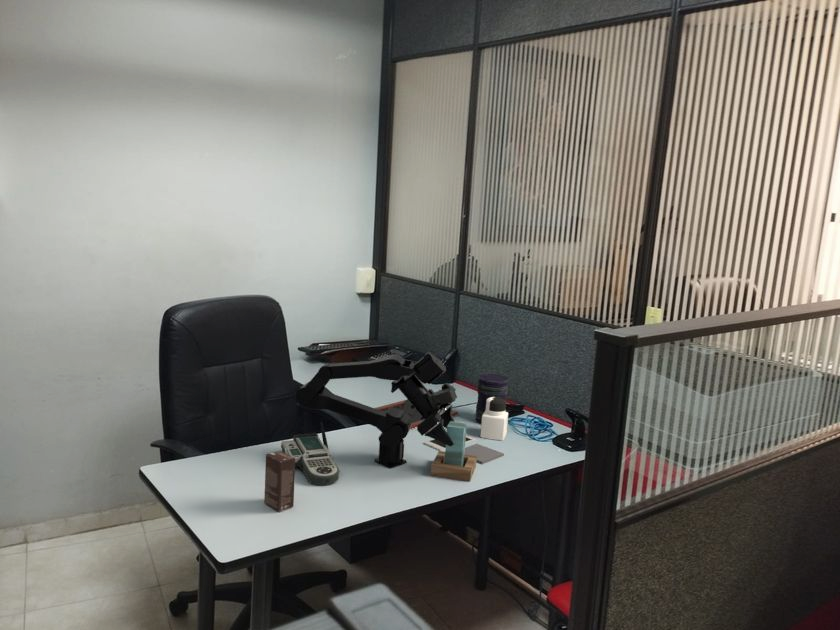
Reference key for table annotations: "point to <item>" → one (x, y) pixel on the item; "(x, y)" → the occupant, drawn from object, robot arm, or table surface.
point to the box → (279, 481)
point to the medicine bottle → (494, 419)
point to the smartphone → (441, 445)
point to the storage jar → (489, 391)
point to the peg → (456, 443)
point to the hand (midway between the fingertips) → (455, 439)
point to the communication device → (313, 457)
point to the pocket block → (453, 468)
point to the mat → (482, 453)
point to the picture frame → (408, 411)
